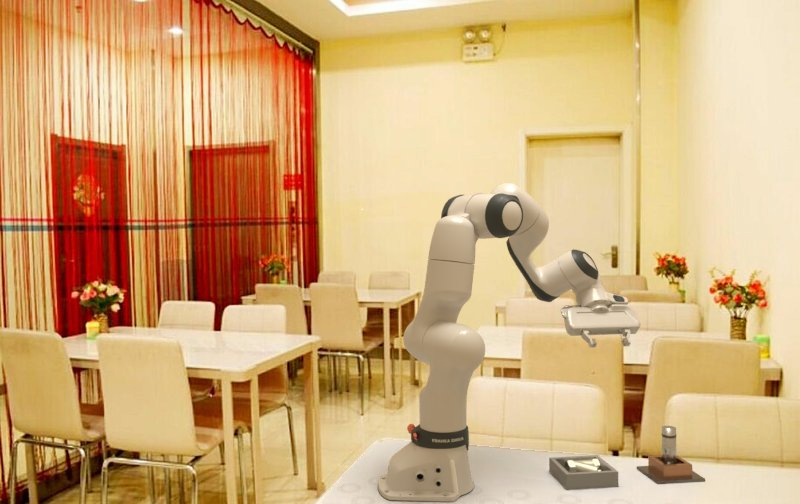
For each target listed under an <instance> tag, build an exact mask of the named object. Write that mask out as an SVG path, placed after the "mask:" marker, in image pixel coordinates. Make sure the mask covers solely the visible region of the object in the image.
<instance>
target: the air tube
mask: <svg viewBox="0 0 800 504" xmlns="http://www.w3.org/2000/svg"><path fill="white" fill-rule="evenodd" d="M661 454H662V463H664V464H677V456H678V454H677V427H675V426H673V425H663V426H661Z"/></svg>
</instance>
